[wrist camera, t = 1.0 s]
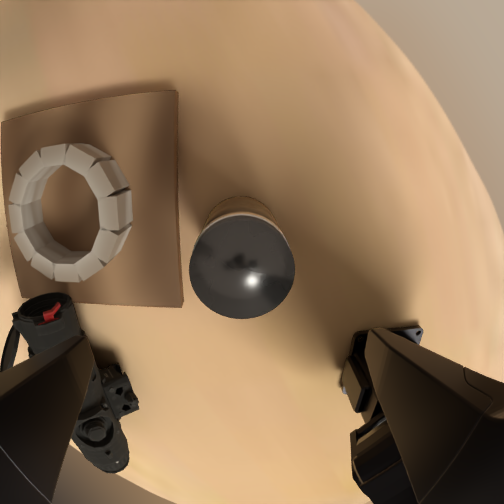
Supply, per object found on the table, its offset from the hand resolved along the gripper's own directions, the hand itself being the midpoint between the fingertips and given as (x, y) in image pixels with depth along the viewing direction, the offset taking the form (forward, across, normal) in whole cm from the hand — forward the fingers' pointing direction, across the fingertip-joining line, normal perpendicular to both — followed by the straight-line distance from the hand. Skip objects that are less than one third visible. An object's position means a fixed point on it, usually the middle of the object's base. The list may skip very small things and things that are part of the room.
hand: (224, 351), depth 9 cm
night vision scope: (+12, +13, +11) cm, 21 cm away
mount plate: (+12, +10, -3) cm, 16 cm away
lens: (+12, 0, 0) cm, 12 cm away
